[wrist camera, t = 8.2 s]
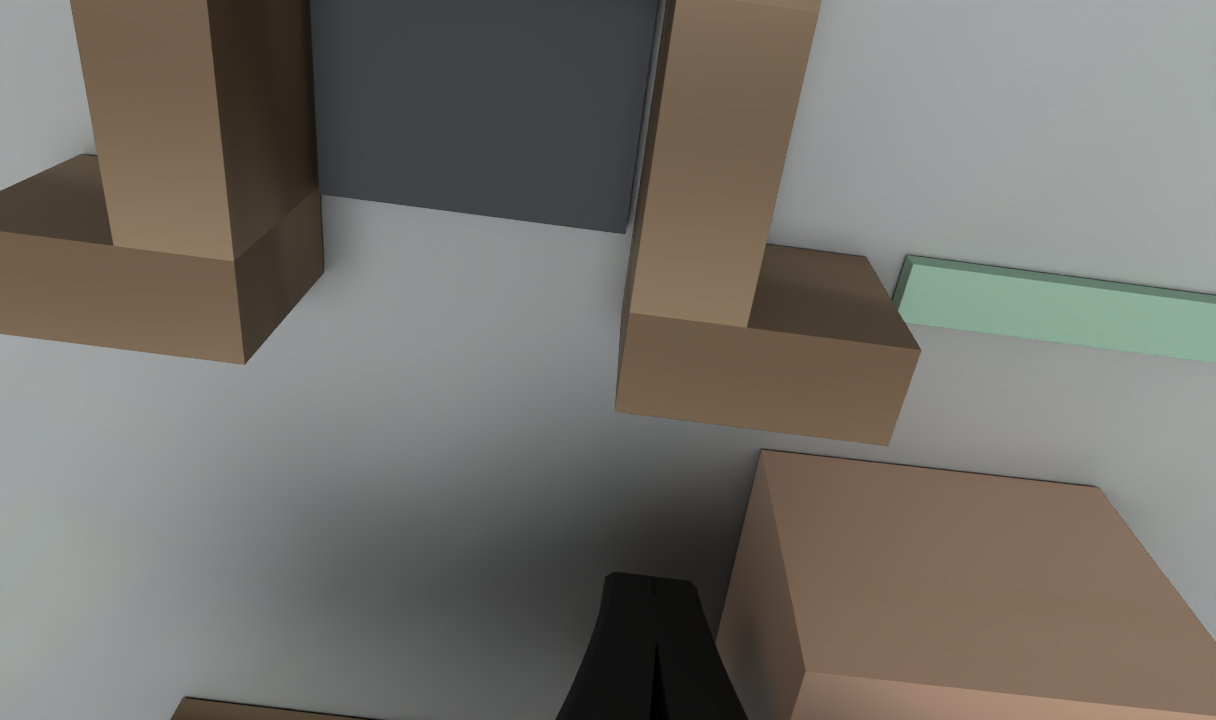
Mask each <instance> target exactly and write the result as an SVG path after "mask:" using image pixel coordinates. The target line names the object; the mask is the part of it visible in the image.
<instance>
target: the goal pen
mask: <svg viewBox="0 0 1216 720" xmlns="http://www.w3.org/2000/svg"><path fill="white" fill-rule="evenodd" d="M892 302H893V303H894V305H895V307H896V308H897V310H898V312H899V314H900V315H901V317H902V319H903V320H904V322H905V323H912V324H919V325H927V326H935V327H943V328H950V329H958V330H966V331H973V332H981V333H989V334H997V335H1004V336H1012V337H1020V338H1027V339H1035V340H1043V341H1050V342H1058V343H1066V344H1074V345H1081V346H1089V347H1097V348H1104V349H1112V350H1120V351H1128V352H1135V353H1143V354H1151V355H1158V356H1166V357H1174V358H1181V359H1189V360H1197V361H1205V362H1212V363H1216V296H1214V295H1206V294H1198V293H1191V292H1183V291H1176V290H1168V289H1160V288H1153V287H1145V286H1138V285H1130V284H1122V283H1115V282H1107V281H1100V280H1092V279H1084V278H1077V277H1069V276H1062V275H1054V274H1046V273H1039V272H1031V271H1024V270H1016V269H1008V268H1001V267H993V266H986V265H978V264H970V263H963V262H955V261H948V260H940V259H932V258H925V257H917V256H910V255H907V256H906V259H905V263H904V266H903V269H902V272H901V275H900V278H899V281H898V285H897V288H896V291H895V294H894V297H893V300H892Z"/></svg>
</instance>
